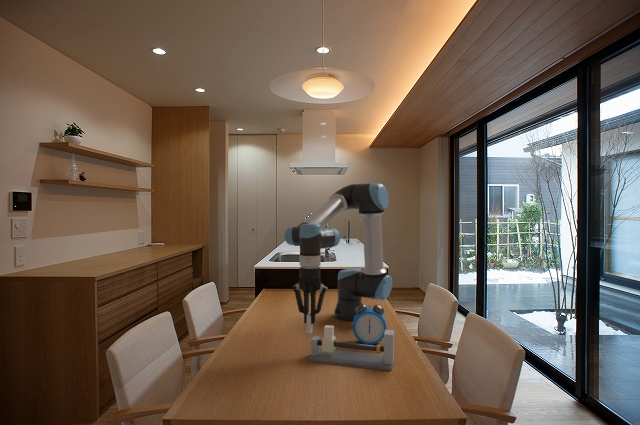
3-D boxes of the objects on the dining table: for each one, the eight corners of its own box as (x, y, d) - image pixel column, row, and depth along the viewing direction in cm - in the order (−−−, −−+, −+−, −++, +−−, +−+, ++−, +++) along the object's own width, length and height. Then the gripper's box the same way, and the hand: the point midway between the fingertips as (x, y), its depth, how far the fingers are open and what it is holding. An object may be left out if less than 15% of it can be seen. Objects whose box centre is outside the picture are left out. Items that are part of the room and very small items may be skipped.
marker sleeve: (324, 346, 135) (325, 324, 135) (335, 347, 134) (335, 325, 134) (322, 351, 131) (322, 327, 131) (333, 352, 130) (333, 328, 130)
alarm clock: (352, 344, 146) (352, 305, 145) (353, 338, 152) (353, 302, 151) (386, 346, 144) (386, 307, 143) (386, 340, 150) (386, 303, 150)
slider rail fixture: (316, 350, 139) (316, 321, 139) (394, 359, 131) (394, 328, 131) (308, 361, 129) (308, 329, 129) (392, 371, 122) (392, 337, 122)
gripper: (289, 267, 132) (288, 334, 132) (325, 269, 128) (324, 337, 129) (296, 264, 139) (295, 327, 139) (330, 266, 136) (329, 330, 136)
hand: (309, 332), depth 134 cm, fingers closed
